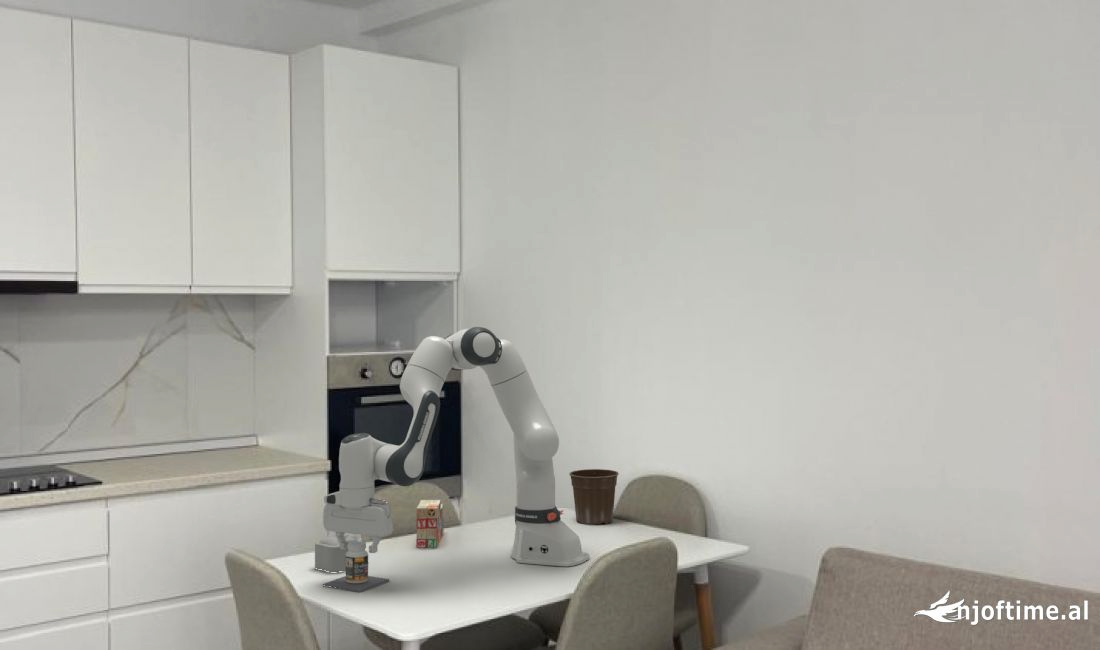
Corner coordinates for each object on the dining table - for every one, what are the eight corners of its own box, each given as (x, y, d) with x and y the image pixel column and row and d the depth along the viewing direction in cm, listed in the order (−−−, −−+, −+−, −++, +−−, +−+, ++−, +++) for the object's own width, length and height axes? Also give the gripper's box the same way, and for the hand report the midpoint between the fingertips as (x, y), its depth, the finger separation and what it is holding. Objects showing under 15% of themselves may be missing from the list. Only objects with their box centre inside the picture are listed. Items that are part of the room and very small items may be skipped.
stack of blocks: (423, 533, 339) (423, 494, 338) (443, 533, 339) (443, 494, 338) (416, 549, 317) (416, 507, 317) (437, 549, 317) (437, 507, 317)
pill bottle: (357, 585, 274) (357, 546, 274) (340, 582, 277) (340, 543, 277) (372, 580, 279) (372, 542, 279) (356, 577, 282) (356, 539, 282)
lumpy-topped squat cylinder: (309, 568, 294) (309, 537, 294) (346, 559, 304) (346, 529, 304) (334, 574, 288) (334, 542, 287) (371, 565, 298) (371, 534, 297)
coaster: (389, 581, 281) (389, 579, 281) (360, 592, 270) (360, 590, 270) (352, 575, 286) (352, 573, 286) (322, 586, 276) (322, 583, 276)
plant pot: (565, 525, 349) (565, 476, 349) (572, 515, 365) (573, 468, 365) (615, 527, 347) (615, 477, 346) (620, 517, 363) (620, 469, 362)
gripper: (397, 498, 275) (398, 552, 276) (334, 492, 285) (335, 544, 285) (382, 502, 270) (383, 557, 270) (318, 496, 279) (319, 549, 280)
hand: (358, 550), depth 278 cm, fingers open, 8 cm apart
